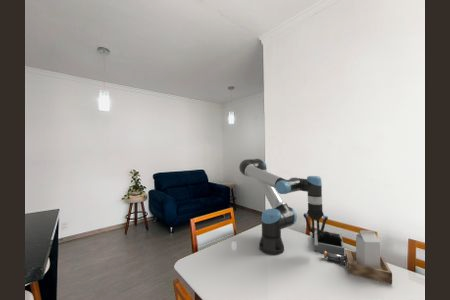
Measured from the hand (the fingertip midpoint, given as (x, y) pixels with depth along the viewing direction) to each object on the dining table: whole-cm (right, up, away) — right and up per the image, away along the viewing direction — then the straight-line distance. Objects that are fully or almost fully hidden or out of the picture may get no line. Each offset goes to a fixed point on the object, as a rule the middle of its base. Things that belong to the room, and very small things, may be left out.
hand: (316, 244), depth 107 cm
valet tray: (+14, -7, +12) cm, 20 cm away
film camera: (+13, -7, +13) cm, 20 cm away
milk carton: (+20, -6, -13) cm, 25 cm away
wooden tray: (+20, -7, -12) cm, 25 cm away
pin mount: (+9, -7, -4) cm, 12 cm away
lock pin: (+8, -6, -4) cm, 11 cm away
